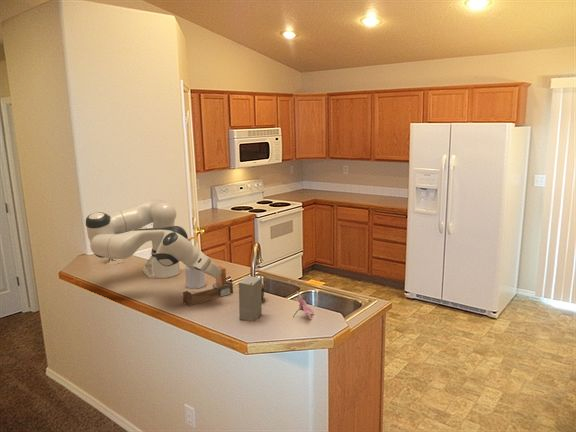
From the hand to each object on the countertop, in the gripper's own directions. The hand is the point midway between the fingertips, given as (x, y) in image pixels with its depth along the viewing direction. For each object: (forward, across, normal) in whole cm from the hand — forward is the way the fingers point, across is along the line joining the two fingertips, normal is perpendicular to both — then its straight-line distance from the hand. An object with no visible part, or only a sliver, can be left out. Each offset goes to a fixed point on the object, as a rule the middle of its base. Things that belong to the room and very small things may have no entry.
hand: (215, 276), depth 207 cm
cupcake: (+13, +17, 0) cm, 21 cm away
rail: (+4, 0, -10) cm, 10 cm away
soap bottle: (+7, -19, -7) cm, 22 cm away
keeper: (+8, 0, -4) cm, 10 cm away
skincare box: (+5, +31, -8) cm, 32 cm away
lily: (+16, +45, +2) cm, 48 cm away
